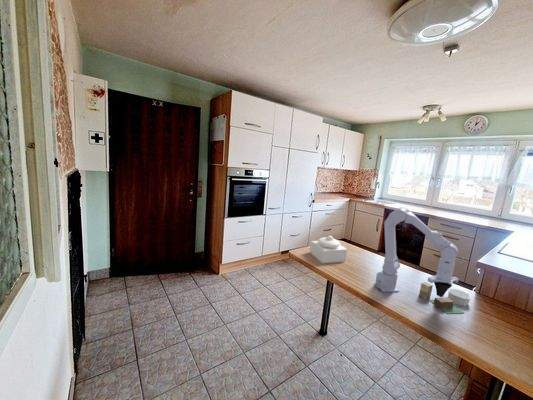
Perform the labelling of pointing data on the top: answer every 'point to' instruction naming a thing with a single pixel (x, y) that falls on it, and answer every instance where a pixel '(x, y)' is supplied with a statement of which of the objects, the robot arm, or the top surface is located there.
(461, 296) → the ramekin
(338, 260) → the white lidded box
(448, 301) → the walnut block
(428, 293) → the maple block
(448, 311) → the mat
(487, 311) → the top surface
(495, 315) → the top surface
